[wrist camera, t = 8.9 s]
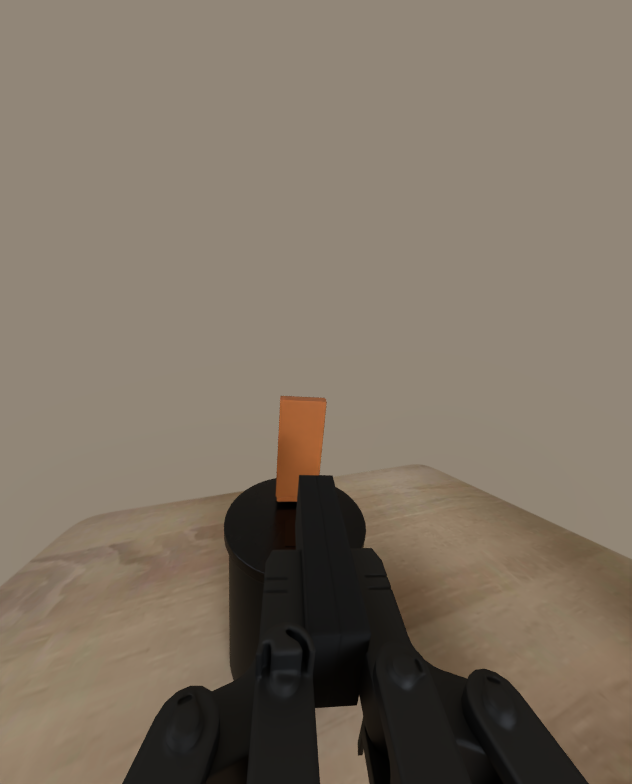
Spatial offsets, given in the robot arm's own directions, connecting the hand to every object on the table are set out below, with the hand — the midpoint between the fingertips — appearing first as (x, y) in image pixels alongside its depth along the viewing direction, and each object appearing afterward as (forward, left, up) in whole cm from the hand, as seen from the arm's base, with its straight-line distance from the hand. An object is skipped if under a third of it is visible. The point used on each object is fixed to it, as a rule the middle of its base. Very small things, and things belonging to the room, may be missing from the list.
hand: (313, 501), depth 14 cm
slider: (+2, -8, -5) cm, 10 cm away
